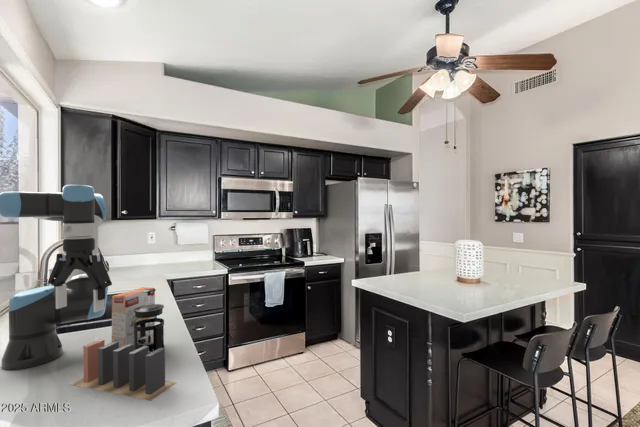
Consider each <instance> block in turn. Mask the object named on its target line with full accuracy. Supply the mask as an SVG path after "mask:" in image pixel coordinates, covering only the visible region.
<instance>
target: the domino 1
mask: <svg viewBox="0 0 640 427" xmlns="http://www.w3.org/2000/svg"><path fill="white" fill-rule="evenodd" d="M118 348H119V342H112V341H111V342H110V343H108V344H105V346H103V347H100V348H98V385H105V384H106V383H108V382H110V381H112V380H113V351H114V350H116V349H118Z"/></svg>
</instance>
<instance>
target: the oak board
mask: <svg viewBox="0 0 640 427" xmlns="http://www.w3.org/2000/svg"><path fill="white" fill-rule="evenodd" d="M177 383H178V382H176V381H171V380H166V379H165V385H164V386H163V387H161V388H160V389H158V390H157V391H155V392H154V393H153V394H151V395H149V394H146V384H145V385H144V386H142V387H141V388H139V389H137V390H136V391H134V392H133V391H129V382H128V383H127V384H125V385H123V386H121V387H120V388H113V380H112V381H110V382H108V383H106V384H105V385H98V378H96V379H94V380H92V381H90V382H88V383H87V382H84V377H82V378H80V379H78V380H76V381H74V382H72V383H70V385H72V386H77V387H82V388H85V389H92V390H95V391H96V390H97V391H100V392H106V393H111V394H116V395H121V396H126V397H131V398H134V399H135V398H136V399H140V400H146V401H150V402H151V401H153V400H154V399H156V398H157V397H159V396H160V395H161V394H164V392H165V391H167V390H168V389H170V388H171V387H173V386H174V385H175V384H177Z"/></svg>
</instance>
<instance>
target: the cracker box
mask: <svg viewBox="0 0 640 427" xmlns="http://www.w3.org/2000/svg"><path fill="white" fill-rule="evenodd" d="M146 289H156V288H155V287H147V286H146V287H144V286H142V287H139V288H136V289H132V290H128V291H125V292H122V293H118V294H115V295H112V296H111V343H112V342H119V348H120V347H123V346H125V345H127V344H134V324H135V323H136V322H138V321H141V320H145V319H149V318H137V317H135V312H134V309H135V308H137V307H140V306H144V305H148V296H147V292H142V291H143V290H146ZM155 299H156V292H155V291H153V292H151V295H150V305H151V304H156V302H155V301H156V300H155ZM151 318H156V316H155V317H150V319H151ZM155 323H156V322H150V326H154V325H156V324H155ZM145 324H146V327H148V326H149V323H145ZM137 327H140V325H138V326H137ZM147 335H149V331H146V336H147ZM150 335H153V330H150ZM138 338H140V331H137V339H138ZM138 347H140V346H138V345H137V348H138Z"/></svg>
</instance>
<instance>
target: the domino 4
mask: <svg viewBox="0 0 640 427" xmlns="http://www.w3.org/2000/svg"><path fill="white" fill-rule="evenodd" d="M165 380H166V348H165V347H164V348H159V349H157V350H155V351H153V350H152V351H151V352H149V354H147V355H145V381H146V394H149V395H151V394H153V393H154V392H155V391H157V390H158V389H160V388H161V387H163V386H164V385H165Z"/></svg>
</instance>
